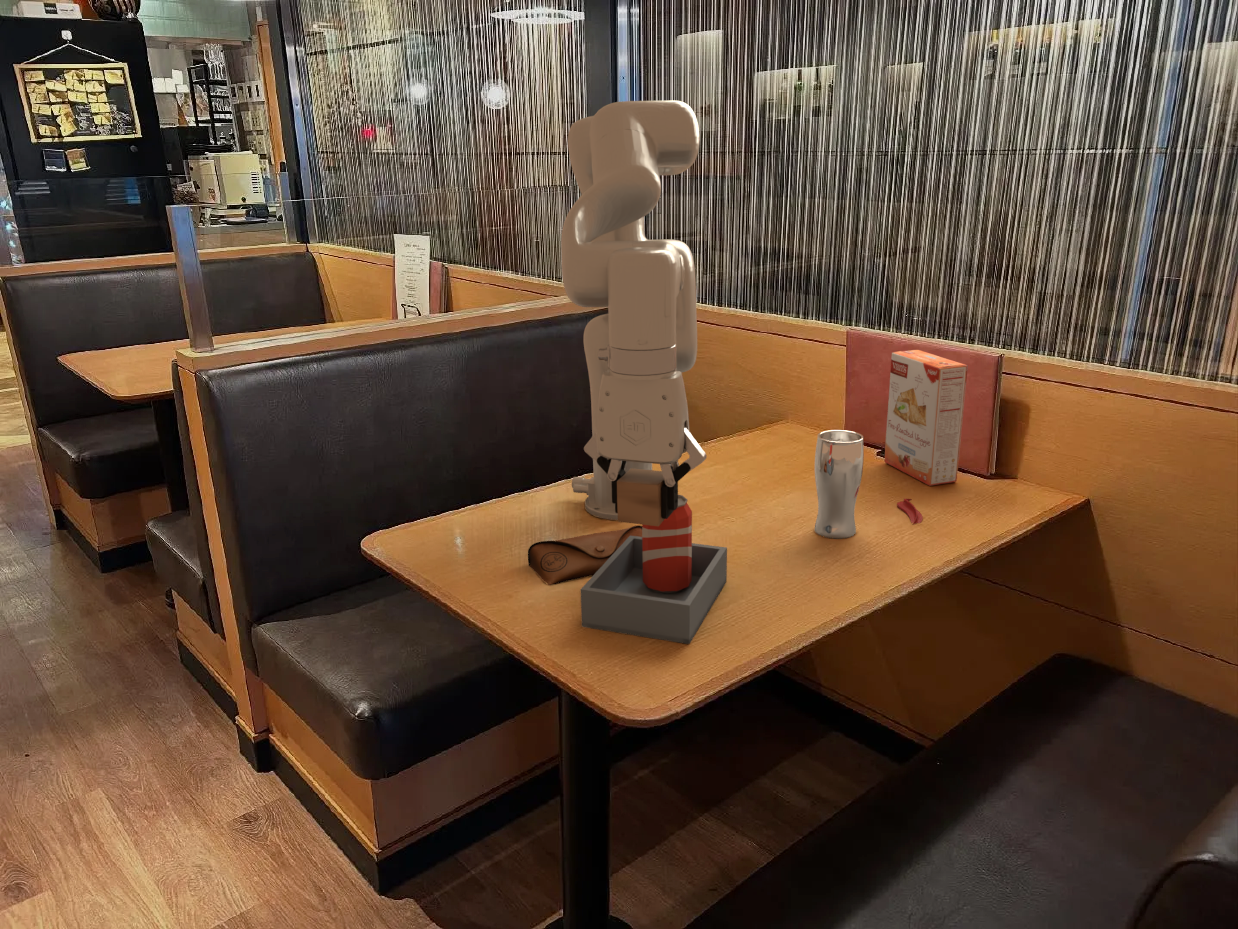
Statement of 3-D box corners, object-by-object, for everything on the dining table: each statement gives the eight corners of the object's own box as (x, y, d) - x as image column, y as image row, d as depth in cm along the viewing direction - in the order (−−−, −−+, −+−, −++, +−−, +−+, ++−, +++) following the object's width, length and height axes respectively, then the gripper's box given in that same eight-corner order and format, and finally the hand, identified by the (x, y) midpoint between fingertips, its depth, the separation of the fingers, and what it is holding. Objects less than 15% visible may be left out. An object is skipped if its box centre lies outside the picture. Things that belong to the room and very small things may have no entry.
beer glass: (859, 541, 135) (866, 443, 130) (811, 538, 136) (816, 441, 132) (857, 524, 141) (863, 430, 137) (811, 521, 143) (816, 428, 138)
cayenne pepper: (899, 499, 152) (900, 489, 152) (928, 503, 151) (929, 492, 150) (888, 525, 142) (889, 513, 141) (920, 529, 140) (921, 517, 140)
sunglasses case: (546, 587, 122) (536, 538, 124) (533, 593, 129) (524, 546, 130) (668, 563, 129) (657, 516, 130) (650, 570, 136) (639, 526, 137)
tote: (581, 626, 112) (580, 589, 110) (630, 568, 128) (630, 535, 126) (689, 644, 107) (689, 605, 106) (726, 582, 123) (727, 547, 121)
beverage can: (679, 572, 125) (679, 489, 121) (698, 592, 119) (699, 505, 115) (637, 579, 123) (635, 495, 119) (654, 599, 117) (653, 511, 113)
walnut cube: (631, 507, 112) (631, 468, 111) (671, 511, 110) (671, 472, 109) (617, 521, 108) (616, 481, 106) (658, 526, 106) (658, 485, 104)
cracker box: (881, 463, 169) (889, 351, 163) (910, 459, 171) (919, 348, 165) (927, 487, 157) (938, 366, 150) (957, 483, 158) (969, 363, 152)
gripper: (559, 363, 103) (566, 515, 108) (707, 371, 97) (706, 531, 103) (585, 350, 110) (590, 494, 115) (725, 358, 104) (723, 509, 109)
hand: (644, 510), depth 109 cm, fingers closed on walnut cube, 5 cm apart
